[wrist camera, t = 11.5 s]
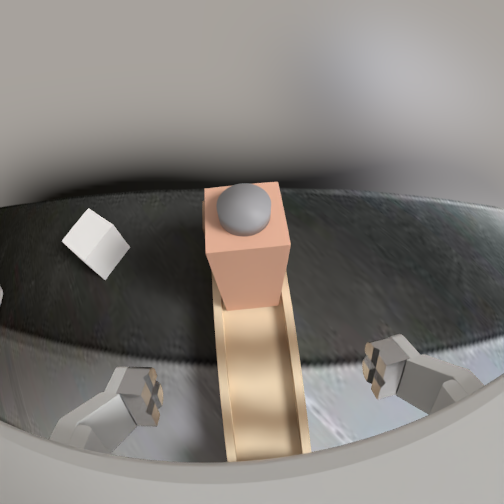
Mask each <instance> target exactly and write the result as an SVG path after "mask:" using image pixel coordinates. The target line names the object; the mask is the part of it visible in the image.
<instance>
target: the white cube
mask: <svg viewBox="0 0 504 504" xmlns="http://www.w3.org/2000/svg"><path fill="white" fill-rule="evenodd" d="M62 242H63V243H64V244H65V245H66V246H67V247H68V248H69V249H70V250H71V251H72V252H73V253H75V254H76V255H77V256H78V257H79V258H80V259H81V260H82V261H83V262H84V263H85V264H87V265H88V266H89V267H90V268H91V269H92V270H94V271H95V272H96V273H97V274H98V275H99V276H101V277H102V278H103V279H104V280H106V279H107V277H108V276H109V275H110V273H111V272H112V270H113V269H114V268H115V266H116V265H117V264H118V262H119V261H120V260H121V259H122V257H123V256H124V255H125V253H126V252H127V251H128V249H129V248H130V246H129V245H128V244H127V243H126V241H125V240H124V239H123V237H122V236H121V235H120V233H119V232H118V231H117V229H116V228H115V227H114V225H113V224H111V223H110V222H108V221H107V220H105V219H104V218H102V217H101V216H99V215H98V214H96V213H95V212H93V211H92V210H90V209H89V208H88V209H87V211H86V212H85V213H84V214H83V215H82V217H81V218H80V219H79V220H78V221H77V223H76V224H75V225H74V226H73V228H72V229H71V230H70V231H69V233H68V234H67V235H66V236H65V238H64V239H63V240H62Z"/></svg>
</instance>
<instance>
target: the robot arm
mask: <svg viewBox="0 0 504 504" xmlns="http://www.w3.org/2000/svg"><path fill="white" fill-rule="evenodd" d="M2 297H3V290H2V288H1V286H0V305H1V301H2ZM365 352H366V354H367V356H366V357H365V358H364V360H363V366H362V367H363V374H364V377H365V379H366V381H367V382H369V383H371V384H372V387H371V390H372V391H373V393H374V395H375V396H376V398H377V400H379V399H382V398H386V397H389V396H393V395H396V396H398V397H400V398H401V399H403V400H405V401H407V402H408V403H410V404H412V405H413V406H415V407H417V408H418V409H420V410H422V411H424V412H425V413H427V414H429V415H428V416H425V417H423V418H421V419H418V420H416V421H414V422H411V423H409V424H406V425H404V426H401V427H398V428H396V429H393V430H390V431H387V432H384V433H381V434H378V435H375V436H372V437H369V438H366V439H363V440H359V441H356V442H352V443H348V444H345V445H341V446H337V447H333V448H328V449H324V450H319V451H314V452H309V453H304V454H298V455H292V456H286V457H279V458H271V459H262V460H252V461H238V462H212V463H196V462H170V461H156V460H146V459H137V458H130V457H123V456H117V455H111V453H112V452H113V451H114V450H115V449H116V448H117V447H118V446H119V445H120V444H121V443H122V442H123V441H124V440H125V439H126V438H127V437H128V436H129V434H130V433H131V432H132V431H133V430H134V429H135V428H136V427H137V426H153V427H157V425H158V420H159V416H160V413H159V411H158V409H159V408H160V407H161V406H162V404H163V391H162V387H161V384H160V383H159V382H158V381H156V377H157V374H156V371H155V369H154V368H152V367H122V366H118V367H117V368H116V369H115V371H114V373H113V375H112V377H111V379H110V381H109V383H108V385H107V387H106V389H105V391H104V393H102V392H100V393H99V394H97V395H96V396H94V397H93V398H91V399H90V400H88V401H87V402H85V403H84V404H82V405H81V406H79V407H77V408H76V409H74V410H73V411H71V412H70V413H68V414H67V415H65V416H63V417H62V418H60V419H59V421H58V423H57V425H56V427H55V428H54V430H53V432H52V434H51V436H50V438H49V439H46V438H43V437H40V436H37V435H34V434H32V433H29V432H26V431H24V430H21V429H18V428H16V427H14V426H11V425H9V424H6V423H4V422H2V421H0V504H504V374H502V375H501V376H499V377H498V378H496V379H495V380H493V381H491V382H490V383H488V384H487V385H485V386H484V385H483V384H482V383H481V381H480V380H479V379H478V378H477V377H476V376H475V375H474V374H473V373H472V372H471V371H470V370H469V369H466V368H463V367H460V366H456V365H453V364H451V363H448V362H445V361H442V360H439V359H436V358H433V357H430V356H427V355H424V354H423V355H420V354H419V353H418V352H417V351H416V349H415V348H414V347H413V346H412V345H411V344H410V343H409V342H408V341H407V339H406V338H405V337H404V336H403V335H401V334H398V335H394V336H391V337H389V338H384V339H380V340H376V341H372V342H368V343H367V344H366V346H365Z"/></svg>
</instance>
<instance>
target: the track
mask: <svg viewBox="0 0 504 504" xmlns="http://www.w3.org/2000/svg"><path fill="white" fill-rule="evenodd" d="M203 232H204V235H205V201H203ZM212 288H213V307H214V323H215V338H216V352H217V364H218V376H219V388H220V398H221V408H222V418H223V427H224V436H225V445H226V453H227V461H228V462H238V461H252V460H262V459H271V458H279V457H286V456H292V455H298V454H304V453H309V452H311V446H310V436H309V428H308V419H307V411H306V403H305V395H304V387H303V380H302V372H301V365H300V358H299V351H298V344H297V337H296V330H295V323H294V317H293V310H292V304H291V298H290V291H289V285H288V279H287V273H286V271H285V276H284V281H283V286H282V290H281V295H280V300H279V304H278V306H270V307H261V308H252V309H242V310H231V311H227V310H226V307H225V304H224V302H223V299H222V296H221V294H220V291H219V289H218V286H217V283H216V280H215V278H214V275H213V272H212Z"/></svg>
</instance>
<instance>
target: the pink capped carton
mask: <svg viewBox="0 0 504 504" xmlns="http://www.w3.org/2000/svg"><path fill="white" fill-rule="evenodd" d="M205 246H206V256H207V259H208V261H209V264H210V267H211V270H212V272H213V275H214V278H215V280H216V283H217V286H218V289H219V291H220V294H221V296H222V299H223V302H224V304H225V307H226V310H227V311H231V310H242V309H252V308H261V307H270V306H278V304H279V300H280V295H281V290H282V286H283V281H284V276H285V271H286V266H287V261H288V256H289V251H290V246H291V243H290V238H289V233H288V228H287V223H286V218H285V213H284V208H283V204H282V199H281V194H280V189H279V185H278V182H269V183H256V184H246V183H245V184H237V185H234V186H226V187H216V188H208V189H205Z"/></svg>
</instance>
